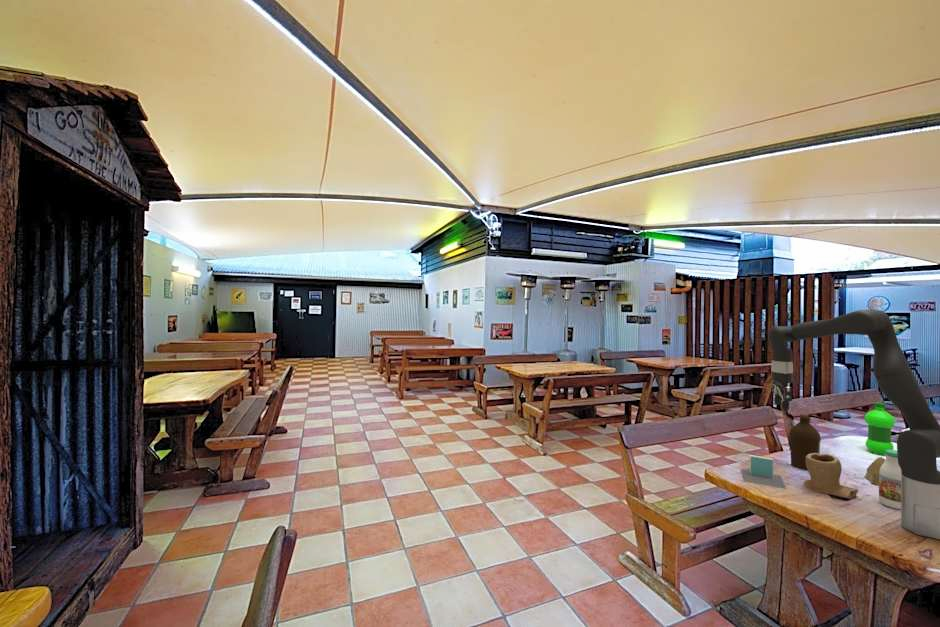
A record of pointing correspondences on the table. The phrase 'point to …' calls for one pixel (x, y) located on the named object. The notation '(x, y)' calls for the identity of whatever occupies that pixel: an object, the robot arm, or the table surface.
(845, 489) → the tan hollow piece
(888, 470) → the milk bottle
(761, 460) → the tile
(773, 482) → the mat
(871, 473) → the rock
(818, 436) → the olive oil
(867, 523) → the table surface
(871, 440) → the plastic bottle
